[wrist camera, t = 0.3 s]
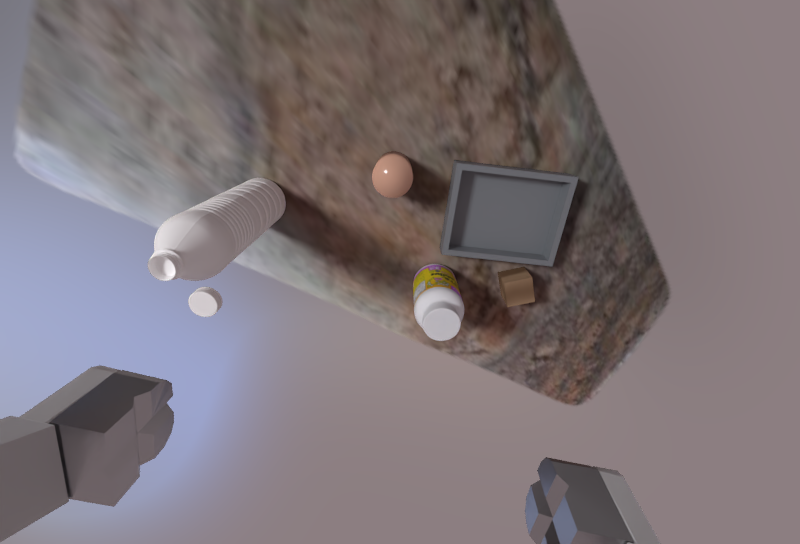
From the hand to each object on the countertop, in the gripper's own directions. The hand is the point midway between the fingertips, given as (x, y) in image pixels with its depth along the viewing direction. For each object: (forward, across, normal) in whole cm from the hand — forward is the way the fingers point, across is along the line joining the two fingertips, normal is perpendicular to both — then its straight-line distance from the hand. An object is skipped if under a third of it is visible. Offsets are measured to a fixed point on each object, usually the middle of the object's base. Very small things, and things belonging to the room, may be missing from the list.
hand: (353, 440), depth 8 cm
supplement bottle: (+48, -5, +15) cm, 51 cm away
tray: (+48, -13, +2) cm, 50 cm away
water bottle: (+46, +20, +8) cm, 51 cm away
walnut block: (+49, -17, +13) cm, 54 cm away
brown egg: (+47, +4, 0) cm, 47 cm away
